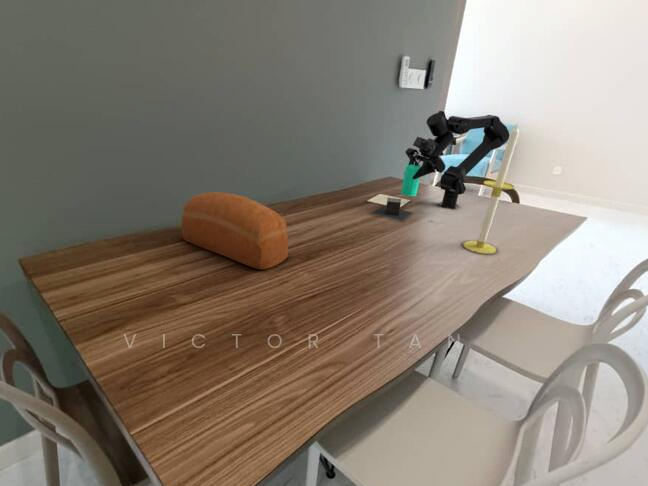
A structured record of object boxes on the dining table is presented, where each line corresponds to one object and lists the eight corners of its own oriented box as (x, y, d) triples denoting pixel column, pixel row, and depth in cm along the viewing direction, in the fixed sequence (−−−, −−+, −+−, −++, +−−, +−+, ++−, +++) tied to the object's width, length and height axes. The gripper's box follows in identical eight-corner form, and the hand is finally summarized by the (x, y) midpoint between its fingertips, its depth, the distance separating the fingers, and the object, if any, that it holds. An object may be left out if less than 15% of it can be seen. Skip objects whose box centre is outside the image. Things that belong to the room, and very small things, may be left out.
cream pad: (379, 194, 174) (379, 193, 174) (410, 201, 168) (410, 200, 168) (366, 201, 163) (367, 200, 163) (398, 209, 157) (399, 207, 157)
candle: (419, 195, 152) (426, 163, 146) (408, 196, 149) (414, 164, 143) (408, 190, 156) (414, 159, 150) (397, 192, 153) (403, 160, 147)
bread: (260, 273, 102) (261, 216, 94) (178, 240, 118) (172, 188, 110) (292, 257, 112) (295, 203, 104) (212, 228, 128) (209, 180, 120)
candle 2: (472, 239, 133) (507, 118, 114) (501, 249, 127) (544, 123, 108) (457, 246, 127) (492, 119, 108) (487, 256, 121) (530, 124, 102)
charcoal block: (385, 210, 154) (387, 197, 151) (398, 211, 153) (400, 198, 150) (385, 214, 149) (387, 201, 147) (398, 215, 149) (400, 202, 146)
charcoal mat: (382, 207, 158) (383, 205, 158) (411, 213, 153) (411, 212, 153) (371, 214, 150) (371, 213, 149) (401, 221, 144) (401, 220, 144)
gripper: (414, 125, 149) (384, 156, 151) (446, 133, 135) (414, 167, 137) (426, 146, 156) (398, 176, 158) (458, 156, 142) (427, 188, 143)
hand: (408, 176), depth 149 cm, fingers closed on candle, 5 cm apart
